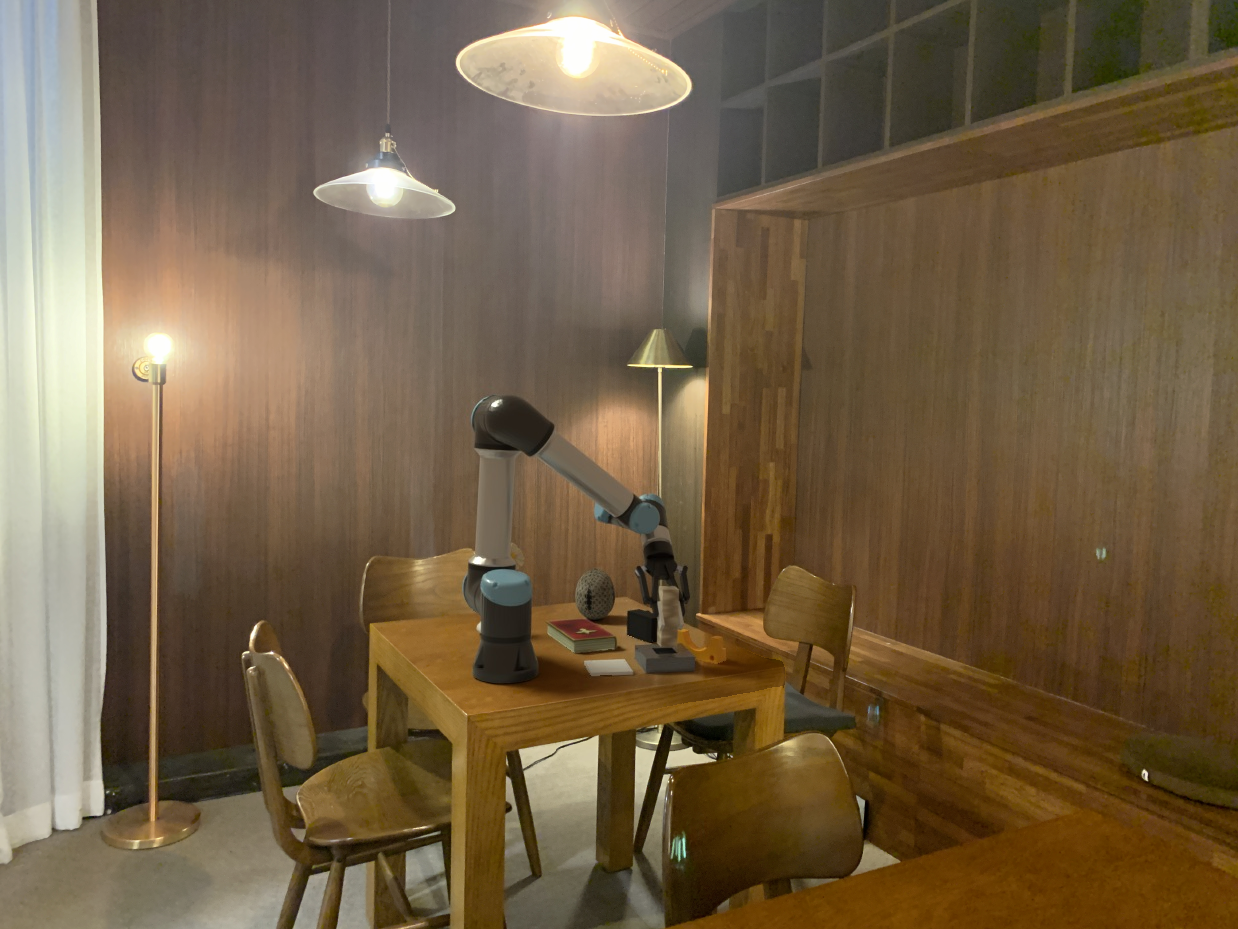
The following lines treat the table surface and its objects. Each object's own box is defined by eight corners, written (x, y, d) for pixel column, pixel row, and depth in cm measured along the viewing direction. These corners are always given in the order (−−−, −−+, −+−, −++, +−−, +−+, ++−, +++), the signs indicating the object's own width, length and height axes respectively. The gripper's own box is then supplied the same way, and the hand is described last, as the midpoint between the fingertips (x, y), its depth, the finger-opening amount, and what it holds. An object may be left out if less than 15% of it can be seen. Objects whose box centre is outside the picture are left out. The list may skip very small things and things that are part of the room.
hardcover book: (586, 631, 250) (586, 616, 250) (616, 651, 231) (617, 635, 230) (545, 635, 245) (545, 620, 245) (573, 655, 226) (573, 639, 226)
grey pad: (590, 676, 207) (591, 673, 207) (584, 663, 217) (584, 660, 217) (633, 674, 209) (633, 671, 209) (624, 662, 219) (624, 659, 219)
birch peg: (661, 647, 215) (662, 589, 215) (657, 642, 219) (658, 586, 218) (677, 646, 216) (679, 589, 215) (672, 642, 220) (674, 586, 219)
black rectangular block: (666, 641, 240) (667, 615, 240) (651, 644, 237) (651, 618, 236) (642, 632, 248) (642, 607, 248) (626, 635, 245) (627, 610, 244)
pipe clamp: (726, 661, 223) (726, 635, 222) (716, 665, 219) (717, 639, 219) (685, 652, 230) (686, 627, 230) (676, 655, 227) (676, 630, 226)
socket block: (645, 673, 211) (646, 658, 211) (634, 658, 222) (635, 644, 222) (694, 671, 213) (695, 656, 213) (681, 657, 225) (681, 643, 225)
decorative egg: (619, 616, 266) (620, 566, 265) (607, 626, 255) (608, 573, 254) (582, 613, 269) (583, 563, 268) (568, 622, 258) (569, 570, 257)
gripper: (686, 556, 233) (702, 634, 218) (622, 556, 230) (634, 636, 215) (692, 538, 228) (709, 618, 213) (627, 539, 224) (639, 619, 209)
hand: (671, 627), depth 214 cm, fingers closed on birch peg, 4 cm apart
